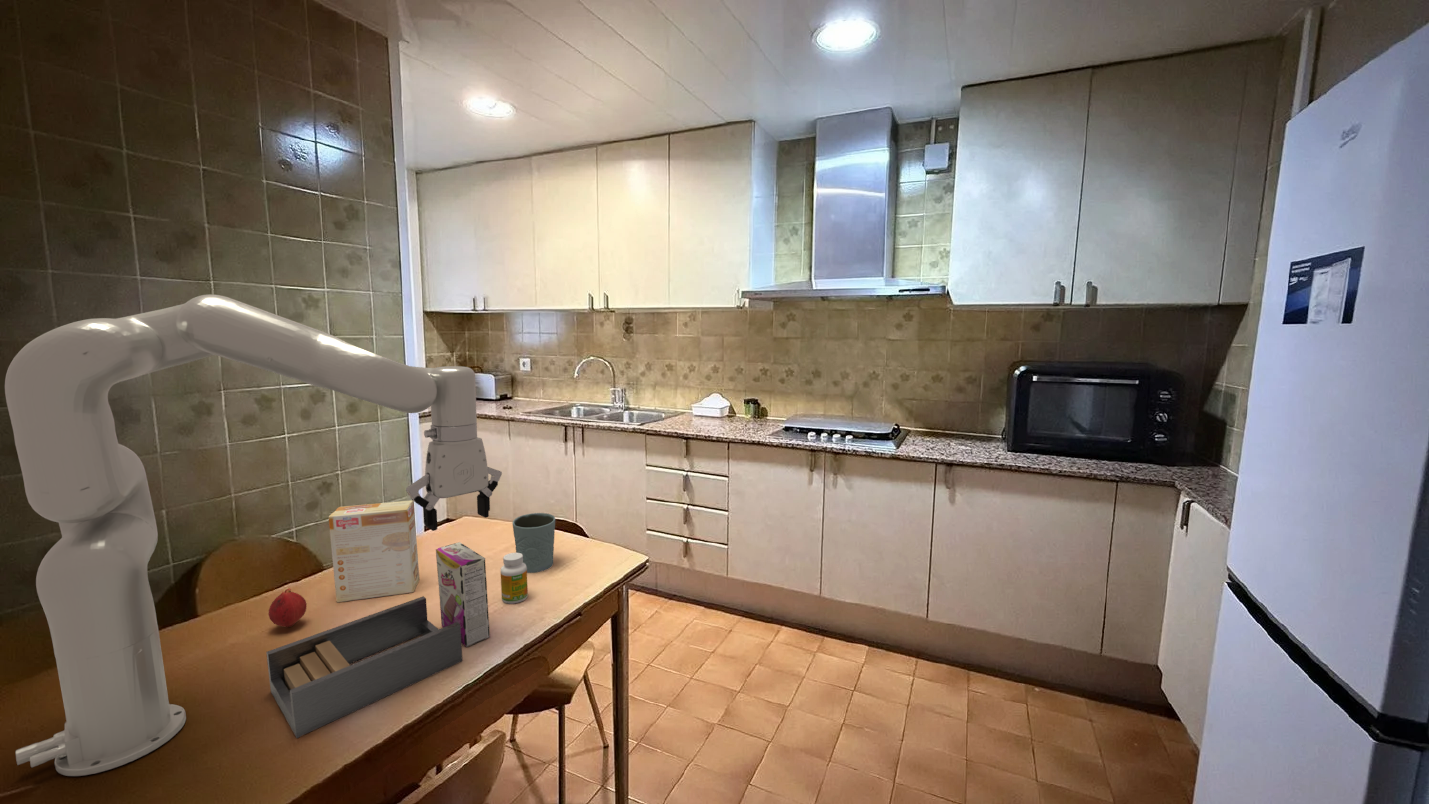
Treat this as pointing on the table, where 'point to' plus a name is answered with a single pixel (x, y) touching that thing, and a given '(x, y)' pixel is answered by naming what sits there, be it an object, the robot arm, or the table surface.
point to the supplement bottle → (514, 579)
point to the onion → (287, 608)
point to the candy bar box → (463, 591)
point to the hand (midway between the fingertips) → (458, 522)
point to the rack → (358, 664)
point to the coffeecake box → (374, 550)
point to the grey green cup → (535, 540)
